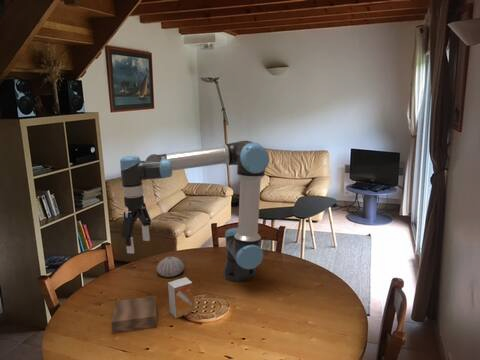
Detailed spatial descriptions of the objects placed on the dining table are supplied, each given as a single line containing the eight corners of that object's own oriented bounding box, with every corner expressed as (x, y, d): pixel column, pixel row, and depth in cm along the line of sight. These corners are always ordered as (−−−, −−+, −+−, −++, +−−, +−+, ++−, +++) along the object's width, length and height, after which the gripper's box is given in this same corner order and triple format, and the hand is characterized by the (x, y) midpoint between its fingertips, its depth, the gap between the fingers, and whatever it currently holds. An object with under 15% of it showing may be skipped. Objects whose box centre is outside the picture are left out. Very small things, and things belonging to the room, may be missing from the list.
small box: (176, 319, 157) (173, 288, 155) (169, 312, 162) (167, 282, 160) (194, 312, 162) (192, 282, 159) (187, 305, 167) (185, 276, 164)
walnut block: (156, 306, 168) (155, 295, 167) (157, 327, 152) (155, 315, 151) (116, 312, 165) (115, 301, 164) (112, 334, 149) (111, 322, 148)
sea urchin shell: (162, 281, 190) (160, 265, 188) (153, 271, 202) (152, 256, 200) (188, 274, 196) (187, 259, 194) (178, 265, 208) (177, 250, 206)
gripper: (139, 188, 172) (144, 235, 176) (107, 204, 148) (114, 258, 153) (156, 188, 170) (160, 236, 175) (126, 204, 146) (132, 259, 151)
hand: (138, 246), depth 164 cm, fingers open, 13 cm apart
